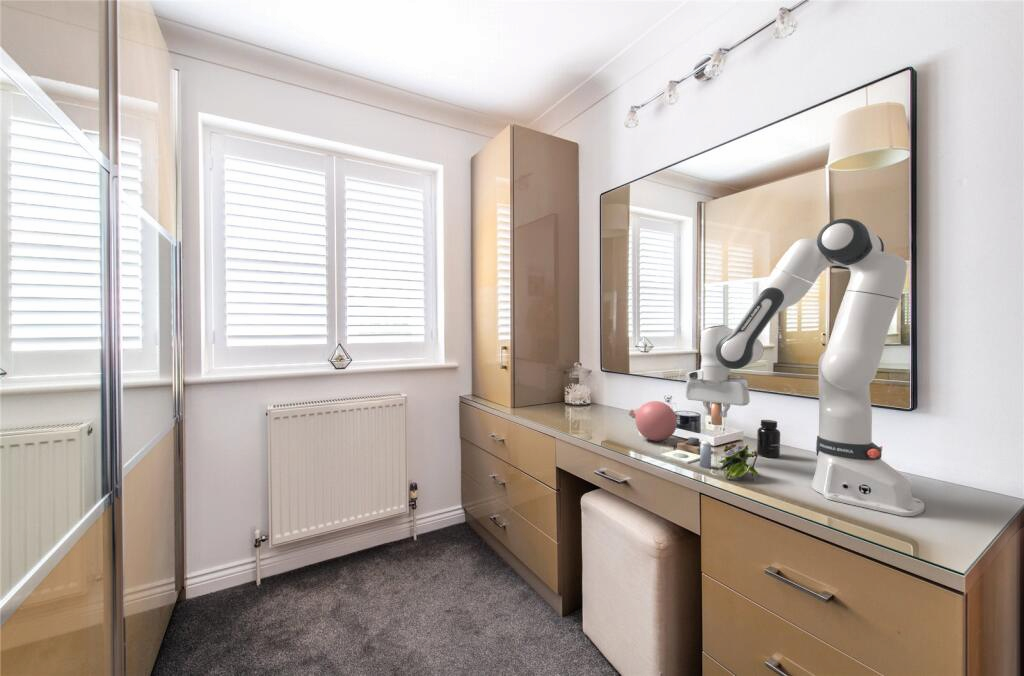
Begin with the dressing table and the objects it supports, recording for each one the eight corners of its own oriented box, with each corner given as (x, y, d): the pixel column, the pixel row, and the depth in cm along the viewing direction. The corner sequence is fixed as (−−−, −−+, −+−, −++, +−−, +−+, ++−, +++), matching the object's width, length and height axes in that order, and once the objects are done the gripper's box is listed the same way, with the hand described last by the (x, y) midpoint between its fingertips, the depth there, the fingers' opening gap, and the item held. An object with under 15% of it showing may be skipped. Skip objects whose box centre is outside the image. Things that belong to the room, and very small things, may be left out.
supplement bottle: (776, 459, 141) (776, 424, 140) (753, 455, 146) (754, 420, 146) (782, 455, 145) (783, 421, 145) (761, 451, 150) (761, 417, 150)
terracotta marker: (724, 424, 139) (723, 400, 139) (718, 425, 138) (718, 401, 138) (714, 422, 142) (714, 399, 142) (709, 424, 140) (708, 400, 140)
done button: (701, 447, 151) (701, 438, 151) (695, 448, 149) (695, 440, 148) (691, 445, 154) (691, 436, 153) (686, 446, 151) (686, 438, 151)
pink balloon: (640, 431, 180) (640, 395, 179) (684, 441, 164) (684, 401, 164) (617, 437, 170) (618, 399, 170) (662, 448, 155) (662, 406, 154)
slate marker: (713, 466, 133) (713, 442, 133) (707, 468, 132) (707, 443, 131) (703, 464, 136) (703, 440, 136) (697, 466, 134) (698, 441, 134)
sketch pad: (704, 458, 142) (704, 456, 142) (687, 463, 137) (687, 461, 137) (677, 451, 151) (677, 449, 151) (660, 455, 145) (660, 453, 145)
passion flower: (729, 490, 128) (735, 453, 134) (766, 494, 120) (771, 455, 125) (708, 474, 124) (715, 436, 129) (745, 477, 115) (751, 437, 120)
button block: (710, 451, 150) (710, 444, 150) (697, 455, 145) (697, 448, 145) (689, 446, 157) (689, 440, 157) (677, 450, 152) (677, 443, 152)
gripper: (752, 375, 133) (753, 419, 133) (692, 372, 150) (693, 411, 150) (742, 377, 130) (744, 422, 130) (682, 373, 146) (683, 413, 146)
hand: (716, 416), depth 140 cm, fingers closed on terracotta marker, 3 cm apart
